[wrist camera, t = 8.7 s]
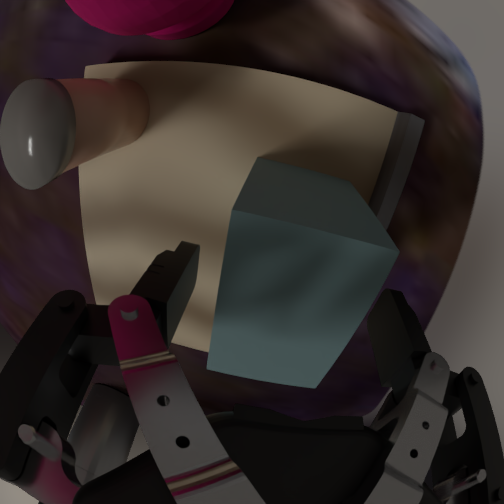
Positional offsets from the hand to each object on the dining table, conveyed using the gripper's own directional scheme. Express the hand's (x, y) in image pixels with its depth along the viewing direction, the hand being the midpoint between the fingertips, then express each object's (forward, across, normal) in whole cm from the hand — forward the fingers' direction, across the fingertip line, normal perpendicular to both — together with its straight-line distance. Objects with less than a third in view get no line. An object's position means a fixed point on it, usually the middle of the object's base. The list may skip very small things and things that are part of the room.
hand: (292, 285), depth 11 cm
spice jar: (+4, +11, -5) cm, 13 cm away
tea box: (+4, 0, 0) cm, 5 cm away
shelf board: (+6, +5, +2) cm, 8 cm away
